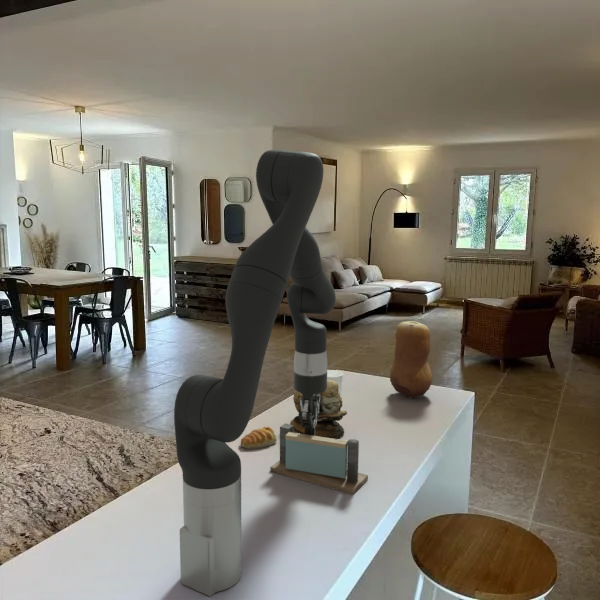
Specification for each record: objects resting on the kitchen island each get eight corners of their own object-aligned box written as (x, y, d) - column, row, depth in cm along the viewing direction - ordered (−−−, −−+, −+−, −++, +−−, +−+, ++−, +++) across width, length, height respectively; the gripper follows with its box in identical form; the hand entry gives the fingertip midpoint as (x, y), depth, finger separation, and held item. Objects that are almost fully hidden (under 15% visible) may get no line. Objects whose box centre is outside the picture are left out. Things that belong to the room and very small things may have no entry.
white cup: (314, 406, 171) (315, 375, 169) (321, 398, 178) (321, 368, 177) (339, 409, 169) (340, 377, 167) (344, 401, 176) (345, 371, 175)
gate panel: (344, 478, 120) (345, 444, 119) (285, 468, 125) (285, 435, 124) (347, 474, 122) (347, 440, 121) (288, 464, 127) (288, 432, 125)
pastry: (250, 453, 137) (250, 439, 136) (234, 445, 142) (234, 431, 141) (279, 443, 143) (279, 429, 142) (262, 436, 148) (262, 422, 147)
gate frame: (352, 494, 116) (354, 449, 115) (270, 471, 127) (270, 429, 125) (367, 479, 123) (369, 437, 122) (288, 458, 134) (288, 419, 132)
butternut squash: (436, 394, 184) (440, 321, 180) (423, 405, 173) (426, 327, 169) (397, 387, 191) (400, 316, 188) (382, 397, 180) (384, 322, 176)
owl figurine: (356, 432, 151) (358, 372, 148) (331, 445, 142) (332, 382, 139) (306, 416, 162) (307, 360, 160) (279, 428, 153) (280, 369, 151)
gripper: (321, 380, 116) (320, 455, 119) (332, 362, 129) (331, 431, 132) (286, 377, 118) (286, 452, 121) (301, 359, 130) (300, 427, 134)
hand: (309, 441), depth 126 cm, fingers closed
